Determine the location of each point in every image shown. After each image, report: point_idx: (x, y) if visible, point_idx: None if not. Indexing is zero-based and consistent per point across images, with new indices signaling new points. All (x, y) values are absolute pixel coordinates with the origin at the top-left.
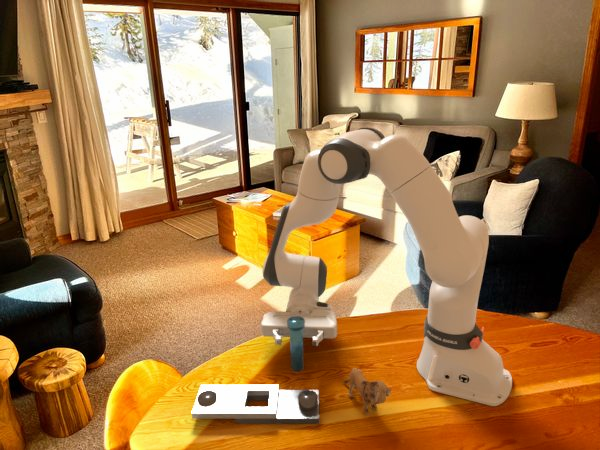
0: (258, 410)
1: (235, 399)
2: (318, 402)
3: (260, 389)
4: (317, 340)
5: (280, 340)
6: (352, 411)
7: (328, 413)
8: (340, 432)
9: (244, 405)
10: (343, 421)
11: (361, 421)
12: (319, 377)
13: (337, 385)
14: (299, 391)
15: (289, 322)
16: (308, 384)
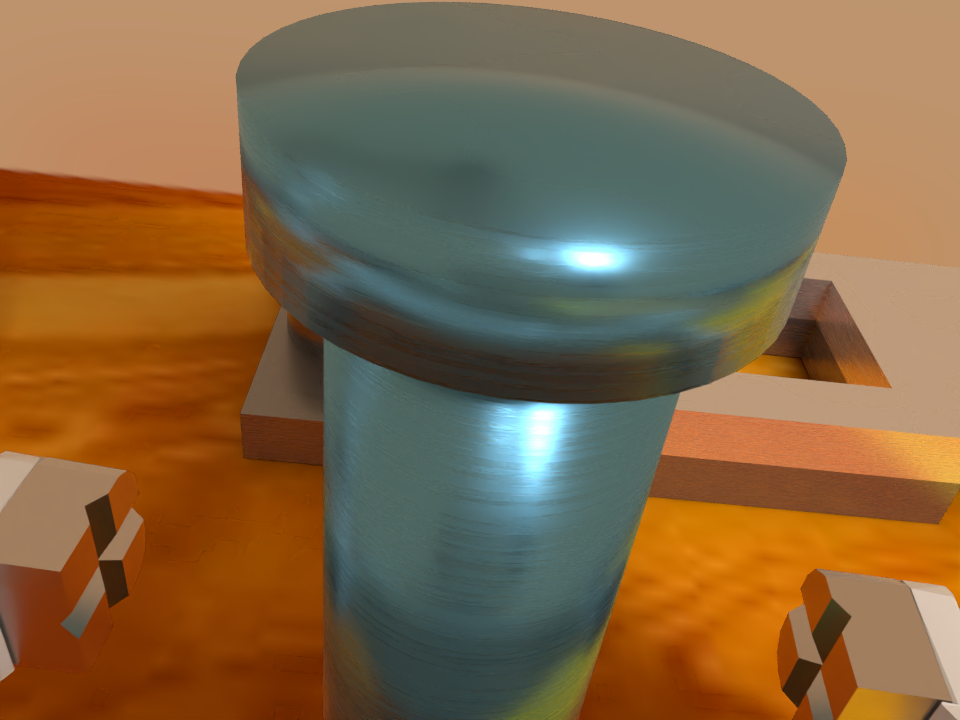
0: None
1: (932, 333)
2: (279, 321)
3: (779, 381)
4: (15, 453)
5: (816, 569)
6: (34, 315)
7: (220, 323)
8: (193, 230)
9: (836, 298)
10: (141, 272)
11: (20, 260)
12: (156, 670)
13: None
14: None
15: (733, 85)
16: (314, 581)
